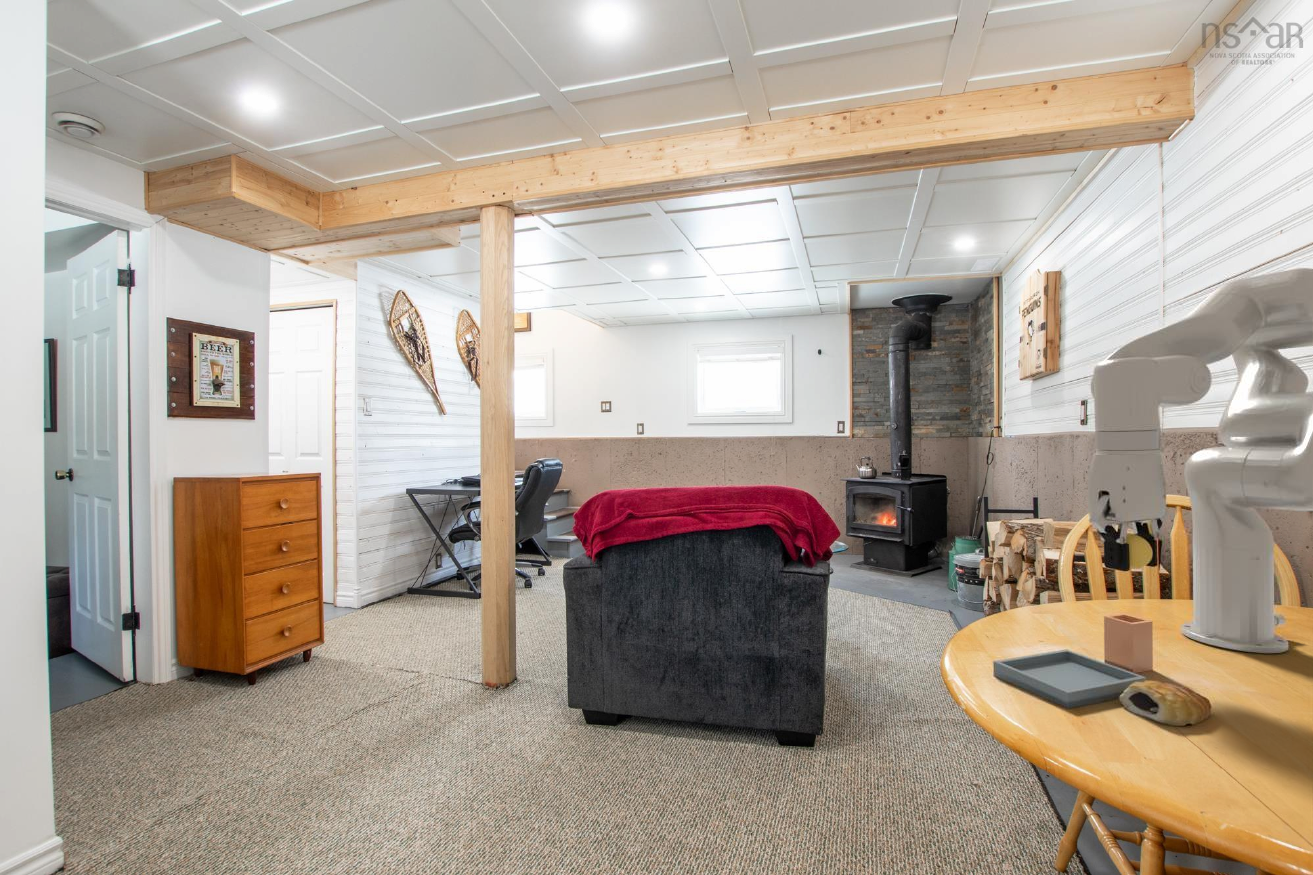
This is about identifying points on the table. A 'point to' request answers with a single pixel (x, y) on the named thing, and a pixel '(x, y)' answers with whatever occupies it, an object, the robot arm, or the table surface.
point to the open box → (1128, 642)
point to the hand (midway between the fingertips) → (1130, 565)
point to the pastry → (1166, 703)
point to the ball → (1138, 551)
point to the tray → (1066, 677)
